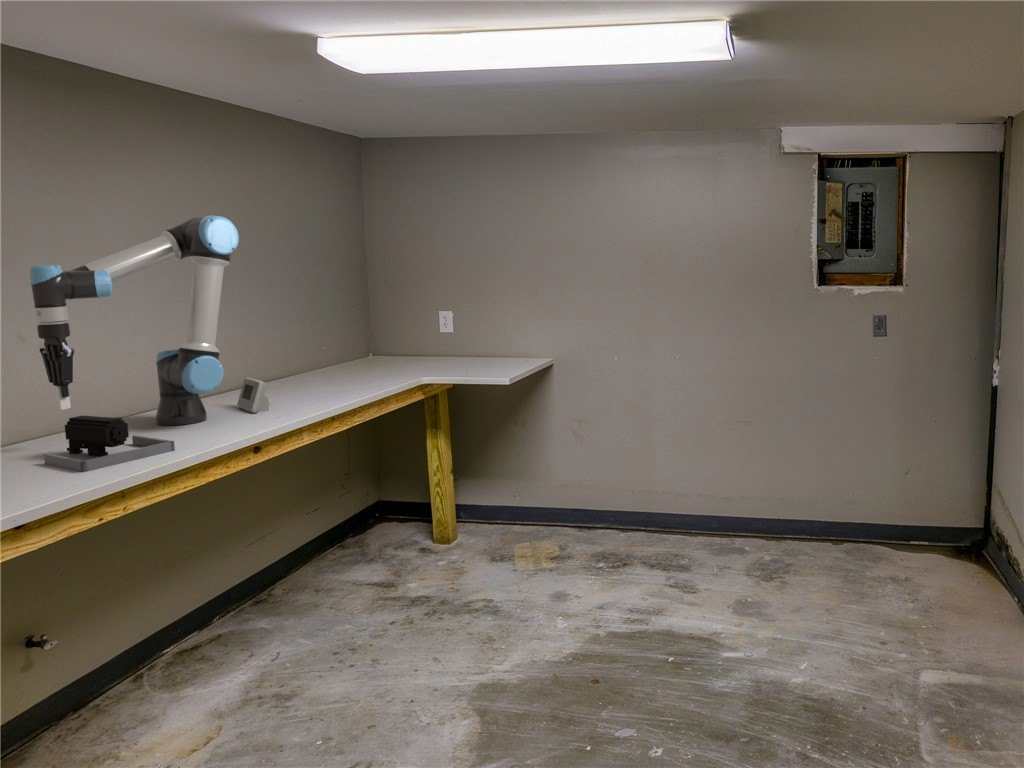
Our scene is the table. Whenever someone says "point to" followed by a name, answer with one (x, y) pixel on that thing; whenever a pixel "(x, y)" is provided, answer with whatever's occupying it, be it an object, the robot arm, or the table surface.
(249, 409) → the digital clock
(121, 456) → the grey u-shaped frame
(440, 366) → the table surface
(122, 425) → the security camera
